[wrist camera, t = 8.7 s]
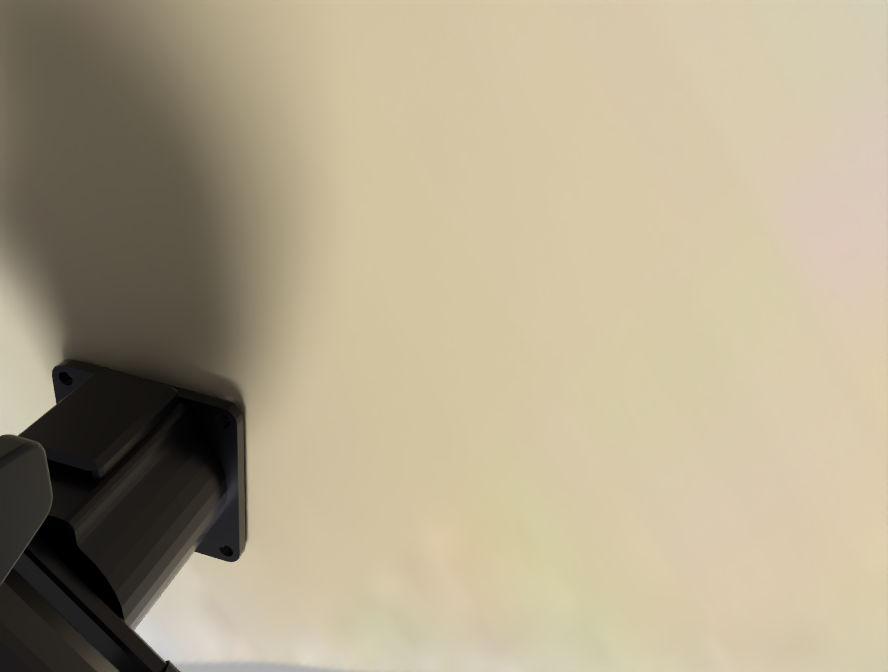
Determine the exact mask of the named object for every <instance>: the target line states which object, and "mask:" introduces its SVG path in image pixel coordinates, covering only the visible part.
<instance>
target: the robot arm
mask: <svg viewBox="0 0 888 672" xmlns="http://www.w3.org/2000/svg"><path fill="white" fill-rule="evenodd" d="M68 374H69V375H70V376H71V377H72V378H71V377H70V376H69V375H68ZM52 378H53V384H54V391H55V397H56V403H57V404H56V405H55V406H54V407H53V408H51V409H50V410H49V411H48V412H47V413H45V414H44V415H43V416H42V417H40V418H39V419H38V420H37V421H35V422H34V423H33V424H32V425H30V426H29V427H28V428H27V429H26V430H24V431H23V432H22V433H21V434H19V435H18V436H16V435H2V436H0V672H180V671H179V670H178V669H177V668H176V667H175V666H174V665H173V664H172V663H171V662H170V661H164V660H163V659H162V658H161V657H160V656H159V655H158V654H157V653H156V652H155V651H154V650H153V649H152V648H151V647H150V646H149V645H148V644H147V643H146V642H145V641H144V640H143V639H142V638H141V637H140V636H139V635H138V634H137V633H136V632H135V631H134V630H135V628H136V627H137V626H138V624H139V623H140V622H141V621H142V619H143V618H144V617H145V615H146V614H147V613H148V611H149V610H150V609H151V607H152V606H153V605H154V603H155V602H156V601H157V600H158V598H159V597H160V596H161V594H162V593H163V592H164V590H165V589H166V588H167V586H168V585H169V584H170V582H171V581H172V580H173V579H174V577H175V576H176V575H177V573H178V572H179V571H180V569H181V568H182V567H183V565H184V564H185V563H186V562H187V560H188V559H189V558H190V556H191V555H192V554H193V552H194V551H195V552H198V553H201V554H204V555H208V556H211V557H214V558H218V559H221V560H224V561H228V562H234V561H237V560H238V559H239V558H240V556H241V555H242V553H243V552H244V550H245V495H244V430H243V415H242V412H241V410H240V409H239V407H237V406H236V405H235V404H234V403H231V402H229V401H226V400H222V399H219V398H215V397H211V396H207V395H204V394H200V393H196V392H192V391H189V390H185V389H181V388H177V387H173V386H170V385H166V384H162V383H158V382H155V381H151V380H147V379H143V378H140V377H136V376H132V375H128V374H125V373H121V372H117V371H113V370H110V369H106V368H102V367H98V366H95V365H91V364H87V363H83V362H80V361H76V360H72V359H66V360H64V361H62V362H61V363H59V364H58V365H57V366H55V367H54V369H53V370H52ZM222 415H224V416H226V417H227V418H228V419H229V421H228V420H226V419H225V418H224V417H223V416H222Z"/></svg>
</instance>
